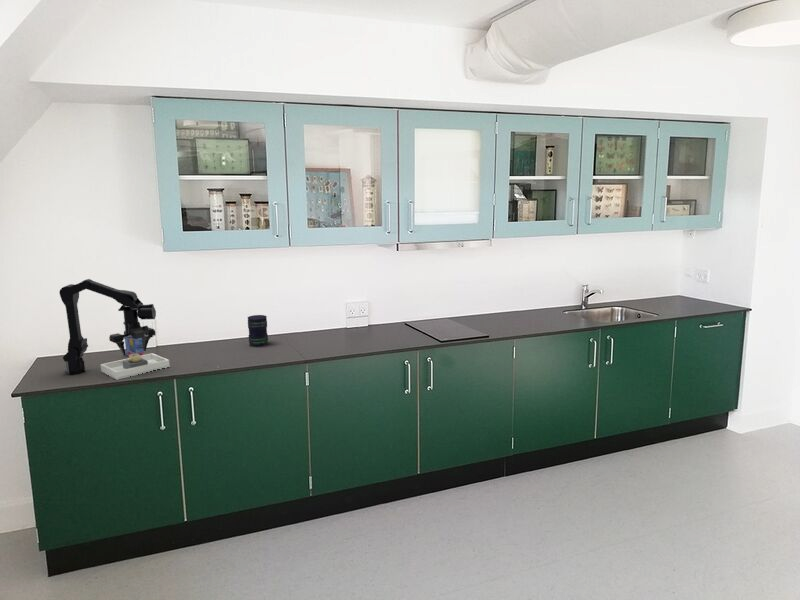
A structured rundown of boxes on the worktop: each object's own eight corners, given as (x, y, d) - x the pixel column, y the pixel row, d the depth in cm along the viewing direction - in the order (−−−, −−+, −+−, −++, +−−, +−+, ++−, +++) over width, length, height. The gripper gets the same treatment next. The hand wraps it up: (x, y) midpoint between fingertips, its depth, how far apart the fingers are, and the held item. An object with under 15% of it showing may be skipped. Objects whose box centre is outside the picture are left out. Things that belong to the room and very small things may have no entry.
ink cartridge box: (125, 355, 300) (122, 326, 297) (136, 352, 304) (133, 324, 301) (135, 358, 294) (132, 329, 291) (146, 356, 298) (143, 327, 295)
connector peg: (130, 367, 276) (128, 354, 275) (137, 365, 279) (136, 353, 277) (133, 369, 274) (132, 356, 272) (141, 367, 276) (140, 354, 275)
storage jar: (245, 347, 312) (244, 318, 310) (253, 342, 322) (251, 314, 319) (264, 347, 311) (262, 319, 308) (271, 342, 320) (269, 315, 318)
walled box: (116, 379, 262) (115, 370, 261) (101, 371, 273) (100, 363, 273) (169, 367, 279) (168, 358, 278) (153, 360, 291) (152, 352, 290)
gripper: (117, 326, 260) (121, 361, 263) (159, 318, 273) (162, 352, 276) (107, 322, 267) (110, 356, 270) (148, 315, 280) (151, 347, 284)
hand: (134, 353), depth 275 cm, fingers open, 9 cm apart
